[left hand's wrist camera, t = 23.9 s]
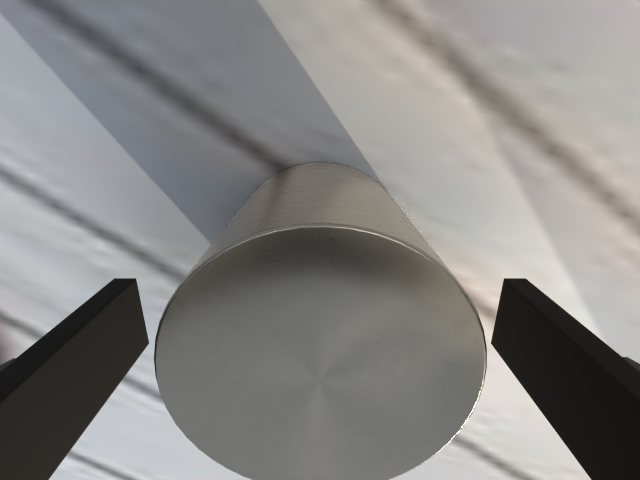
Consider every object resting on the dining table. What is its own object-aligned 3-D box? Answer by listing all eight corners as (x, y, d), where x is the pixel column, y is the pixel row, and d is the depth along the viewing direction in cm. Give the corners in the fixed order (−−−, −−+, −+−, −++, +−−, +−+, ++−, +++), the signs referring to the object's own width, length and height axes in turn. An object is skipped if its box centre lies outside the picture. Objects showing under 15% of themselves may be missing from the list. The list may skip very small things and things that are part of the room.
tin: (199, 245, 18) (85, 374, 9) (324, 121, 16) (329, 137, 7) (317, 348, 20) (314, 530, 11) (440, 251, 18) (552, 386, 9)
